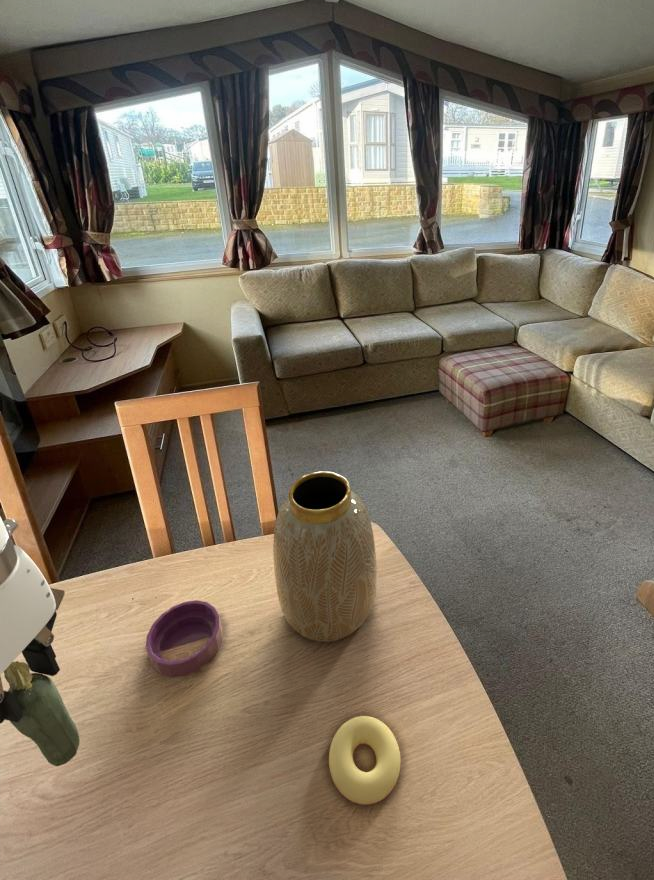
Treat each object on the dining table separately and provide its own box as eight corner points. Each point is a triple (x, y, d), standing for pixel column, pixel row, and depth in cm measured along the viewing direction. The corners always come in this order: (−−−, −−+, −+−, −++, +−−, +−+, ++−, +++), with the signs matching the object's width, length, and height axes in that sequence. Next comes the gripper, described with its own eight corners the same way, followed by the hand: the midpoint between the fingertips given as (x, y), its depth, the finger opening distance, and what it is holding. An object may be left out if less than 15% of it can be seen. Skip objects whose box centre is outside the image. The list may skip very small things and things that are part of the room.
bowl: (149, 693, 74) (142, 675, 72) (155, 628, 84) (149, 611, 82) (225, 669, 77) (220, 651, 75) (222, 609, 87) (218, 592, 85)
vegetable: (97, 746, 59) (46, 645, 50) (71, 789, 55) (10, 689, 46) (65, 739, 60) (9, 638, 51) (37, 781, 56) (-30, 680, 47)
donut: (377, 724, 72) (318, 752, 67) (379, 699, 71) (318, 726, 66) (412, 790, 63) (347, 827, 59) (414, 763, 62) (348, 798, 58)
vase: (350, 556, 98) (344, 446, 86) (395, 622, 84) (395, 503, 73) (267, 594, 90) (248, 479, 78) (303, 674, 76) (287, 549, 65)
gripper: (9, 500, 51) (59, 616, 59) (-186, 649, 36) (-84, 777, 44) (71, 510, 50) (113, 627, 58) (-104, 669, 35) (-15, 797, 43)
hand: (27, 691), depth 51 cm, fingers closed on vegetable, 4 cm apart
